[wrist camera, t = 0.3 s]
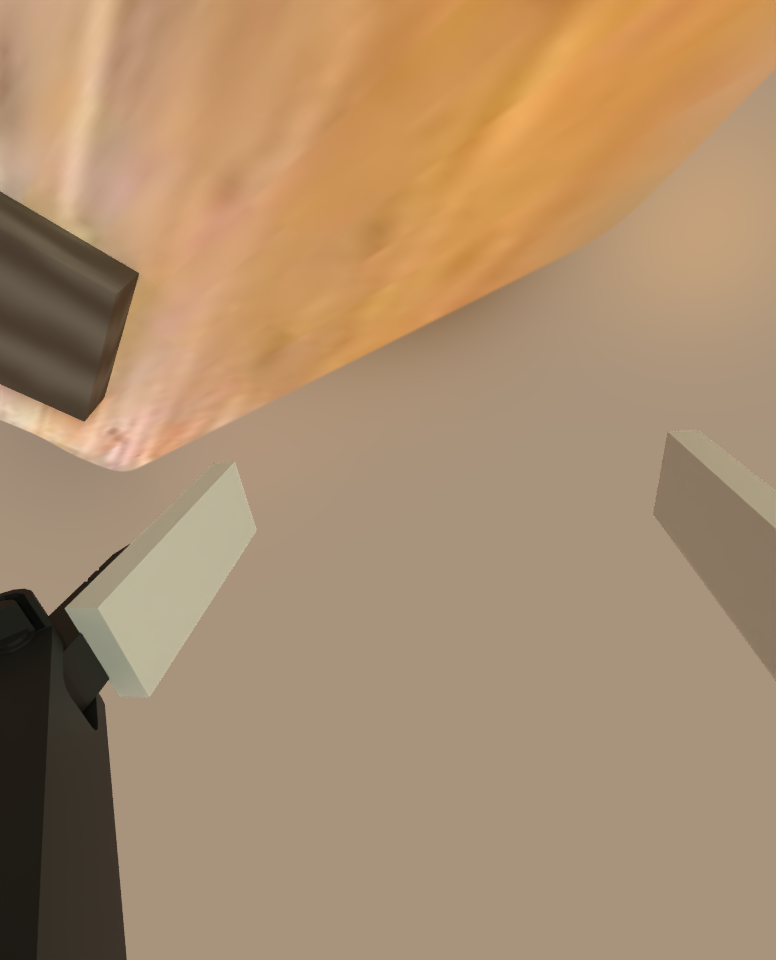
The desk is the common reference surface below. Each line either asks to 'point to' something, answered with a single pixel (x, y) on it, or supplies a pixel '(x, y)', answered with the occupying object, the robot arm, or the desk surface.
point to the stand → (58, 312)
